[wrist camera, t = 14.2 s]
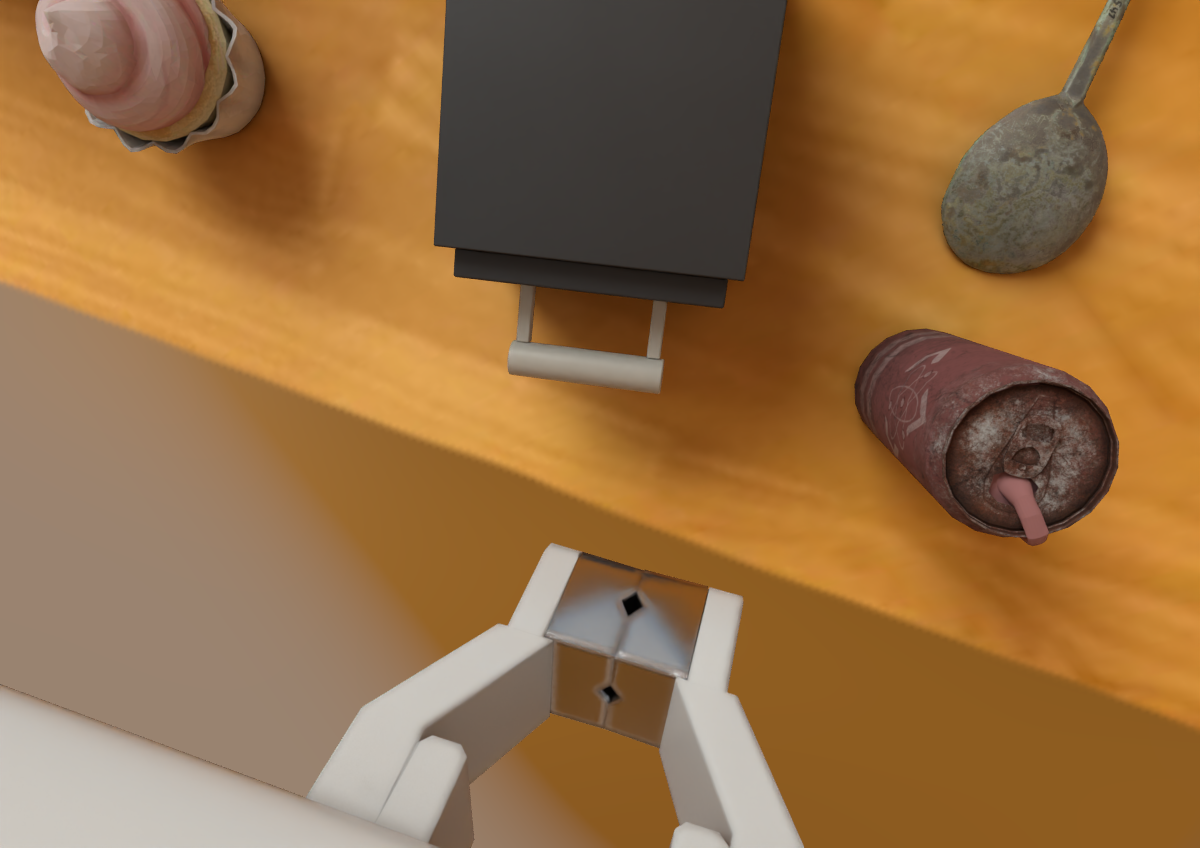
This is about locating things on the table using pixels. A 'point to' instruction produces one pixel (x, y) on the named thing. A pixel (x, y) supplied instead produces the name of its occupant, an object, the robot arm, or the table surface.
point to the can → (989, 432)
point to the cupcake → (154, 67)
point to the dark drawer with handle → (590, 279)
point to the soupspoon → (1033, 173)
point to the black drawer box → (606, 130)
